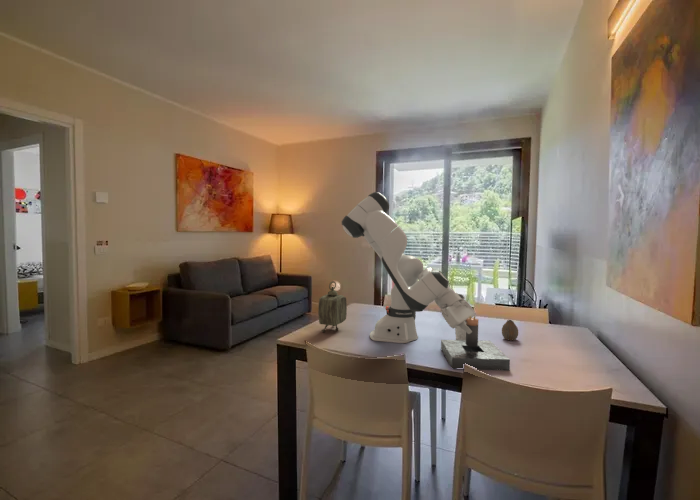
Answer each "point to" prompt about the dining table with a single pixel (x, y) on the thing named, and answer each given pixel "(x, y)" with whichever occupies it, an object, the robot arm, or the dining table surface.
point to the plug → (472, 337)
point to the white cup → (460, 333)
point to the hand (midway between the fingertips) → (473, 331)
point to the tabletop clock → (332, 308)
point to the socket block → (475, 355)
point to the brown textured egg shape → (510, 330)
